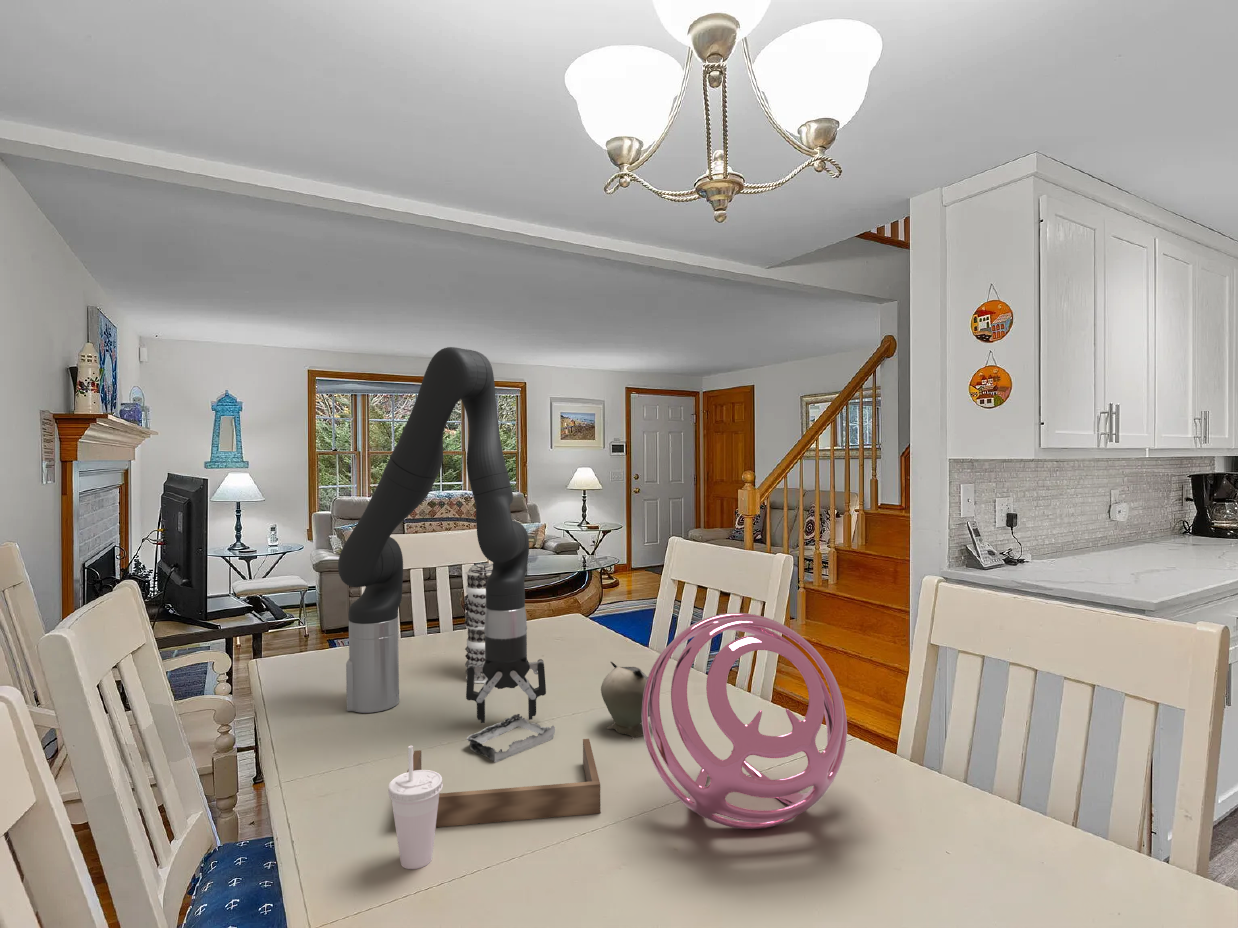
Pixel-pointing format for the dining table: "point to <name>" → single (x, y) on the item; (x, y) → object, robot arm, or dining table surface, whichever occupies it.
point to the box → (520, 799)
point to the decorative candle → (476, 616)
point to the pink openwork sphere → (745, 726)
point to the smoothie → (415, 813)
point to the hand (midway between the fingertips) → (506, 719)
